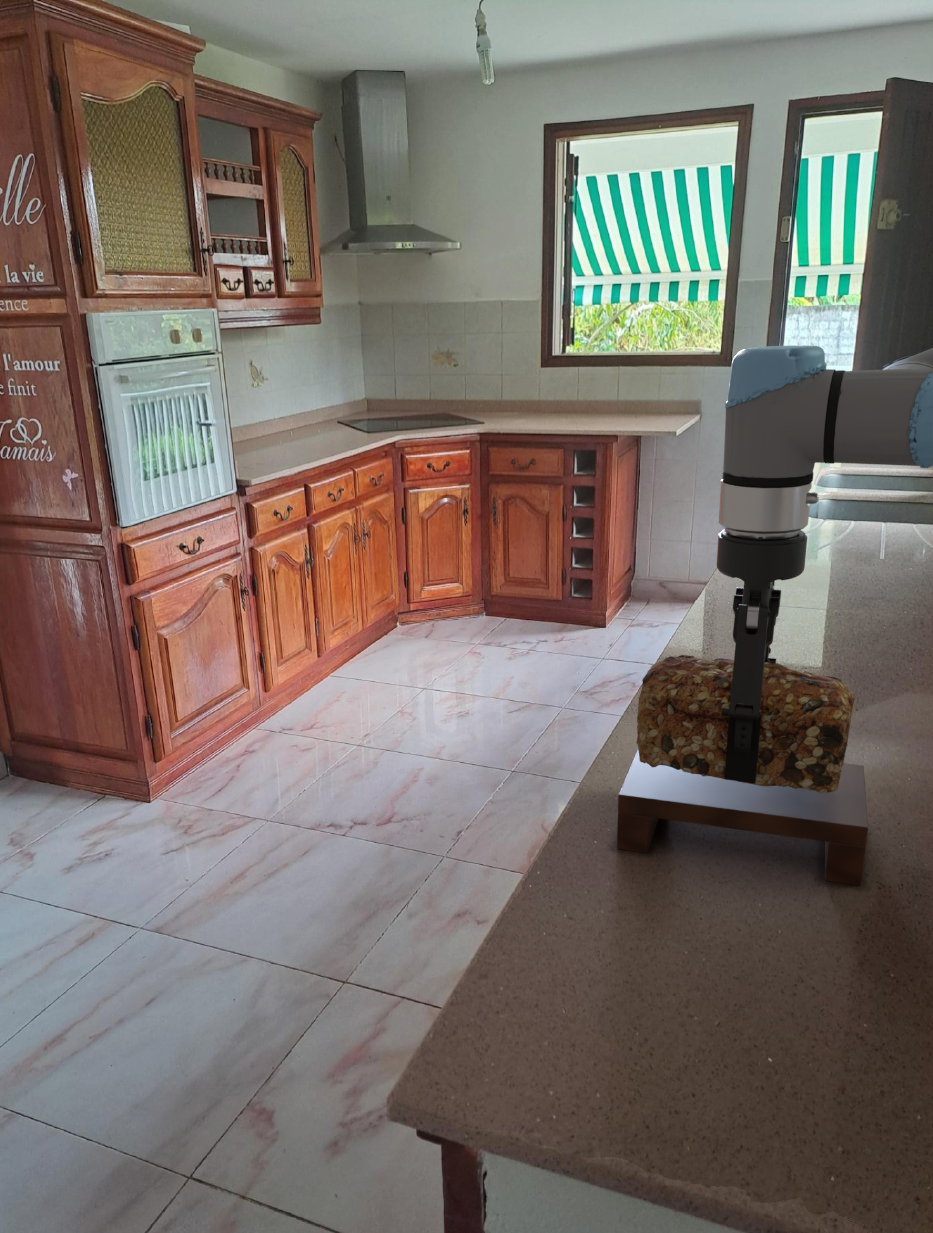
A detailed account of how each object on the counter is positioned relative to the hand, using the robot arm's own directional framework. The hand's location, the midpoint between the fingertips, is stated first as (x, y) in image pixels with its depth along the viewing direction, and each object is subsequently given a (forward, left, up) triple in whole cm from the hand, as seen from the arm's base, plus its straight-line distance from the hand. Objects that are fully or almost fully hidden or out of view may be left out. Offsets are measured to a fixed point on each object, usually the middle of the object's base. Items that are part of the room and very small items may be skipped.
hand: (744, 753), depth 93 cm
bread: (0, 0, -1) cm, 1 cm away
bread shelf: (0, 0, -9) cm, 9 cm away
